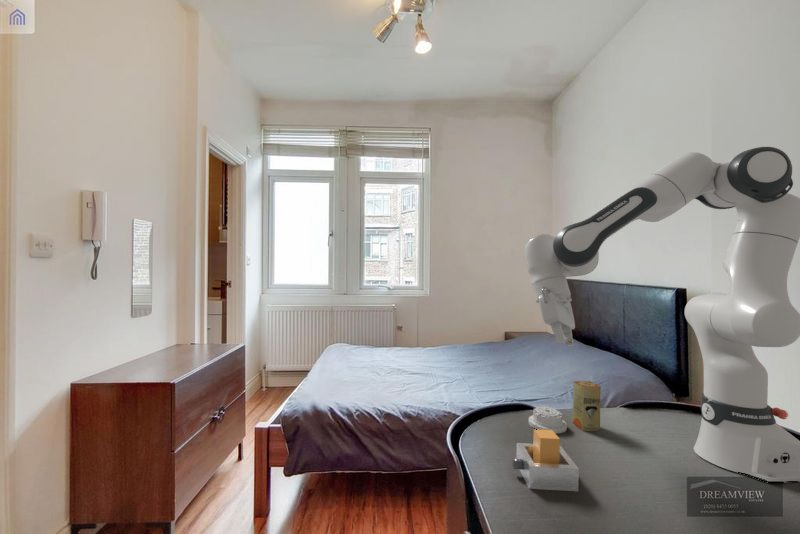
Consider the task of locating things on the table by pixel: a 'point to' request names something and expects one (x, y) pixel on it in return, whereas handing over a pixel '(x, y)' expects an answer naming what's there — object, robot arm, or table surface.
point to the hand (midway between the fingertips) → (566, 344)
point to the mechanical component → (547, 420)
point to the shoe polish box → (586, 405)
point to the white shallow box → (546, 470)
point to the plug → (546, 447)
